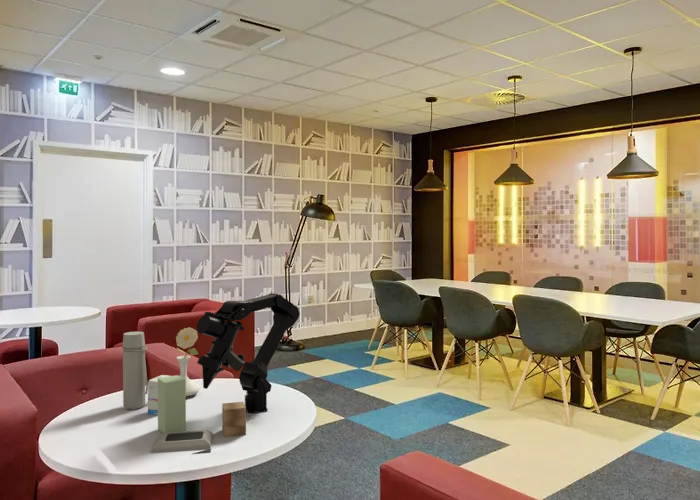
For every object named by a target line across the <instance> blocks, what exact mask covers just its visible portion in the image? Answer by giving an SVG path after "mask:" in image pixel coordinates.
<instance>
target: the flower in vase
mask: <svg viewBox="0 0 700 500" xmlns="http://www.w3.org/2000/svg"><path fill="white" fill-rule="evenodd" d="M198 335H199V334H198V331H197V329H194V328H193V327H189V326H188V327H187V328H186V327H184V328H183V329H181V330H179V332H178V333H177V335H176V336H175V340H176V346H177V347H176V349H177V350H178V351H180V352H181V353H184V354H185V355H180V356H176V358H175V359H176V360H177V362H178V364H179V376H180V377H182V378H184V379H186V397H190V396H194V395H196V394H198V393H199V391H200V390H201V388H200V386H199V385H198V384H197V383H196V382H194V381H193V380H191V379H190V378H189V376H188V372H187V371H188V363H189V360H190V359H191V356H195V355H198V354H199V352H198V351H197V350H198V349H196V348H195V347H193V346H194V345H195V343H196V342H197V341H198V338H199V336H198ZM178 347H179V348H178ZM191 347H192V348H191ZM180 348H182V349H183V350H181V349H180ZM184 349H188V350H187V352H185V351H184ZM188 353H189V354H190V355H188Z"/></svg>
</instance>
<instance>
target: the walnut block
mask: <svg viewBox="0 0 700 500" xmlns="http://www.w3.org/2000/svg"><path fill="white" fill-rule="evenodd" d="M221 404H222V405H221V406H222V407H221V408H222V410H221V411H222V412H221V414H222V416H221V417H222V420H221V422H222V423H221V426H222V427H221V428H222V429H221V430H222V434H223V437H224V438H228V437H229V438H230V437H239V436H245V435H247V410H246V407H245V402H244V401H236V402H235V401H234V402H223V403H221Z"/></svg>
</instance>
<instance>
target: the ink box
mask: <svg viewBox="0 0 700 500" xmlns="http://www.w3.org/2000/svg"><path fill="white" fill-rule="evenodd" d="M170 376H171V375H166V374H161V375H158V376H156V377H153V378H151V379H149V380H148V381H147V382H148V391H147V415H151V416H152V415H153V416H154V415H155V416H158V378H163V377H170Z"/></svg>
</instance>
